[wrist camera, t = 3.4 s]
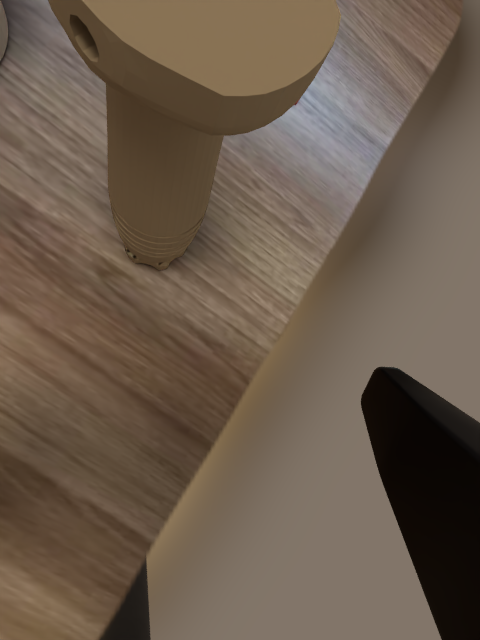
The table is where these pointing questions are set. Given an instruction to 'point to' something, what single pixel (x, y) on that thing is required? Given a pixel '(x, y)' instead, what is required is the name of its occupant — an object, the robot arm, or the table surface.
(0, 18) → the mug
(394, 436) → the robot arm
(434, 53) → the table surface
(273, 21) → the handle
